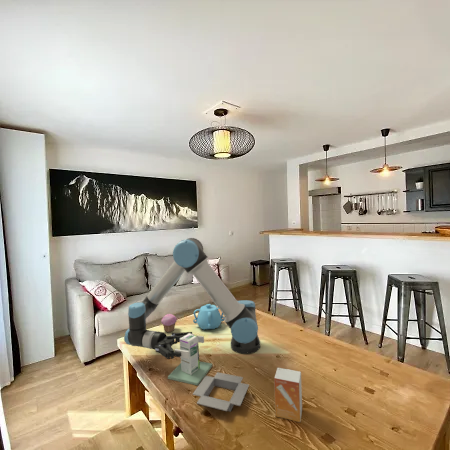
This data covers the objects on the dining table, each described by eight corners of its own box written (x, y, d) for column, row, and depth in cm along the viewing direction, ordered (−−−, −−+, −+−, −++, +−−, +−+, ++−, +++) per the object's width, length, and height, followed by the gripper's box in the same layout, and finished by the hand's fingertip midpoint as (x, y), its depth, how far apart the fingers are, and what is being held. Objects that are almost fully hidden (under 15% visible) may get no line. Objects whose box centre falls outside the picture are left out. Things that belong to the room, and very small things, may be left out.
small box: (275, 417, 82) (273, 377, 82) (278, 403, 88) (277, 366, 88) (301, 423, 79) (299, 382, 79) (302, 408, 85) (301, 371, 85)
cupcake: (170, 326, 156) (169, 310, 156) (180, 329, 151) (179, 313, 151) (159, 332, 149) (158, 315, 149) (168, 335, 144) (168, 318, 144)
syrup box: (190, 375, 104) (189, 341, 104) (180, 371, 108) (179, 337, 107) (200, 368, 109) (198, 335, 108) (190, 364, 112) (188, 332, 112)
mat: (185, 360, 117) (185, 358, 117) (212, 365, 112) (212, 363, 112) (167, 378, 104) (167, 376, 104) (197, 385, 99) (197, 383, 99)
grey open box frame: (209, 377, 104) (209, 370, 104) (251, 386, 97) (251, 378, 97) (188, 409, 87) (187, 400, 87) (237, 422, 80) (236, 413, 80)
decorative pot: (190, 327, 155) (189, 305, 154) (210, 318, 166) (209, 298, 166) (207, 334, 143) (206, 311, 143) (227, 325, 154) (226, 303, 154)
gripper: (170, 336, 126) (209, 342, 118) (136, 363, 103) (181, 372, 95) (170, 321, 126) (208, 326, 118) (136, 345, 103) (180, 353, 95)
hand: (196, 346), depth 107 cm, fingers open, 13 cm apart
